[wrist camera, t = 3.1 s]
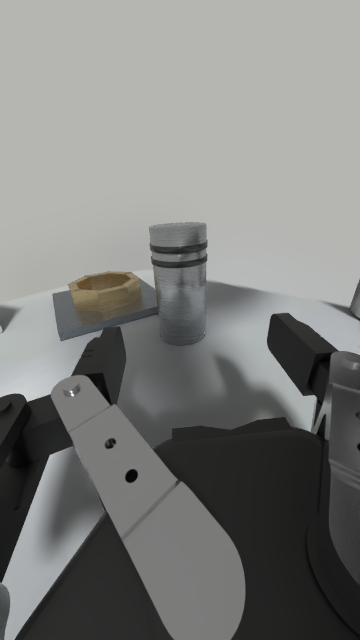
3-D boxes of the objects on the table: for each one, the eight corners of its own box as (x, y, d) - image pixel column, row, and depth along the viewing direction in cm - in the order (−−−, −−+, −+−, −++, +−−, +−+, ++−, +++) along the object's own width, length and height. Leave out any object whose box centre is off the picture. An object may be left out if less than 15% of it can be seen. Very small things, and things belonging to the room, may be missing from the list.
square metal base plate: (137, 282, 41) (135, 263, 39) (173, 308, 30) (171, 284, 28) (54, 299, 35) (47, 278, 33) (60, 340, 24) (50, 312, 23)
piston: (190, 317, 28) (187, 221, 22) (216, 335, 24) (220, 224, 18) (152, 329, 26) (139, 226, 20) (173, 352, 21) (163, 230, 16)
